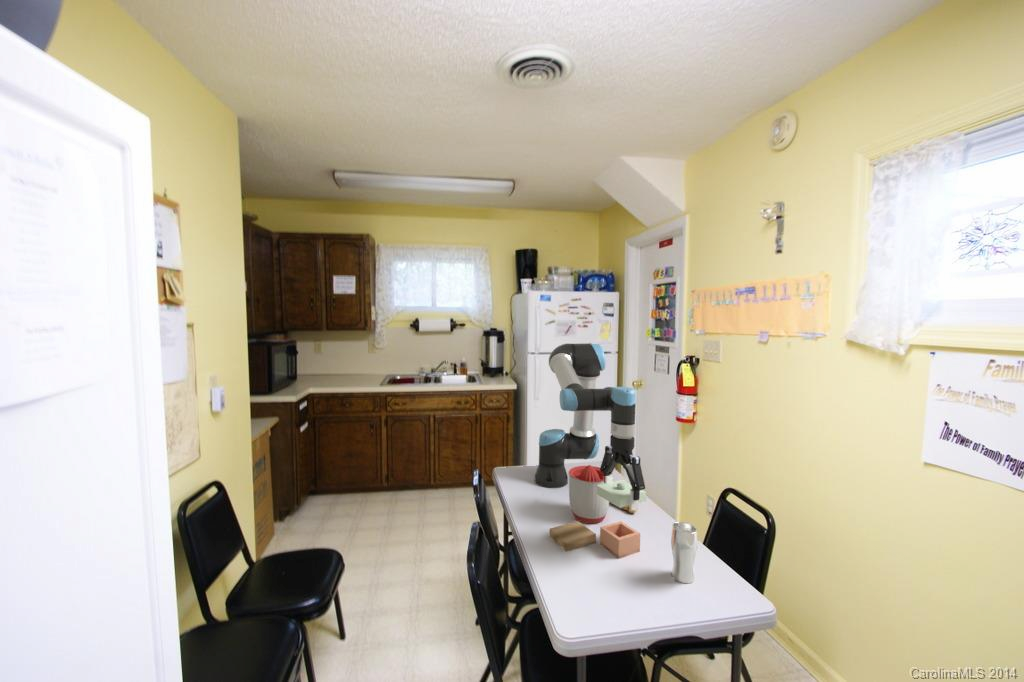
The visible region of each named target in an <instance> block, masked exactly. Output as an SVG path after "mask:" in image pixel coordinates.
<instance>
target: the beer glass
mask: <svg viewBox="0 0 1024 682" xmlns="http://www.w3.org/2000/svg"><path fill="white" fill-rule="evenodd" d="M671 528H672V529H671V535H670V536H671V538H670V539H671V540H670V541H671V542H670V543H671V545H670V546H671V551H672V557H673V558H672V559H673V563H672V564H673V566H672V570H671V576H672V578H673V579H674V580H676V581H678V582H680V583H683V584H692V583H694V581H695V575H694V563H695V559H696V555H697V549H698V530H697V527H696V526H695V525H694V524H691V523H690V522H689V523H688V522H685V521H676V522H673V524H672V527H671Z"/></svg>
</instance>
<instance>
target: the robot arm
mask: <svg viewBox="0 0 1024 682" xmlns="http://www.w3.org/2000/svg"><path fill="white" fill-rule="evenodd" d="M603 348H604V347H602V346H601V345H600V344H599V343H591V342H589V343H563V344H561V345H558V346H557V347H555V348H554V349H553V350H552V351H551V353H550V355H549V358H548V366H549V368H550V370H551V372H552V373H554V374H555V376H556V380H557V381H558V384H559V386H560V389H561V390H560V391H559V392H560V393H559V404H560V405H559V406H560V409H561V410H562V411H567V412H568V411H569V412H574V413H573V422H572V423H573V425H572V426H571V427H569V432H565V430H564V429H562V428H551V429H546V430H544V431H542V432H541V433H540V434H539V439H538V466H537V469H536V472H535V473H534V474H535V475H534V483H535V484H537V485H538V486H540V487H544V488H550V489H551V488H552V489H555V488H562V487H565V486H567V485H568V483H569V475H568V474H567V470H566V466H565V460H590V459H594V458H596V457H597V455H598V453H599V448H600V443H599V442H600V437H599V435H598V433H597V432H596V430H595V429H594V428H593V425H594V423H593V422H594V412H595V411H596V412H597V411H599V412H602V411H603V412H605V411H606V412H607V411H610V434H611V435H610V437H609V438H610V442H609V445H606V446H605V447H604V454H603V457H602V461H601V465H600V467H599V468H600V471H601V472H603V474H604V483H609V482H613V481H614V475H613V472H614V470H615V469H616V467H617V465H618V464H619V465H620V466H622V467H623V470H625V472H626V475H627V478H628V480H629V481H628V482H629V483H630V484H631V486H632V489H630V510H631V511H632V510H635V509H637V510H638V509H639V503H638V500H639V497H640V496H639V495H640V490H644V491H645V489H646V485H645V480H644V475H643V472H642V471H643V470H642V467H641V457H640V456H635V455H634V454H633V451H634V449H635V437H634V436H635V433H636V432H635V430H636V429H635V428H636V425H635V422H636V403H637V398H636V391H635V389H634V388H632V387H627V386H614V387H612V386H606V387H603V388H596V387H597V378H599V377H600V376H601V372H603V371H604V370H605V369H606V366H607V364H606V355H605V352H604V351H605V350H604V349H603Z"/></svg>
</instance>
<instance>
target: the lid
mask: <svg viewBox="0 0 1024 682" xmlns="http://www.w3.org/2000/svg"><path fill="white" fill-rule="evenodd" d="M630 489H632V486H631V484H630V482H629V481H626V480H624V479H618V480H613V482H609V483H605V484H600V485H597V495H599V496H600V497H602V498H604V499H606V500H607V501H609V503H610V504H612V505H614V506H616V507H618V509H622V508H621V507H625V506H628V505H630ZM639 496H640V497H639V500H638V504H639V503H642V502H646V501H647V491H645V489H644V490H640V495H639Z"/></svg>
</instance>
